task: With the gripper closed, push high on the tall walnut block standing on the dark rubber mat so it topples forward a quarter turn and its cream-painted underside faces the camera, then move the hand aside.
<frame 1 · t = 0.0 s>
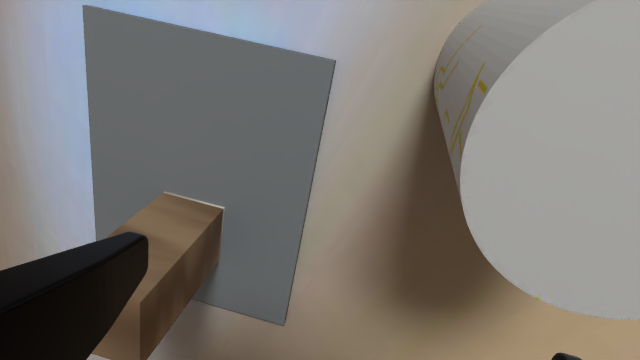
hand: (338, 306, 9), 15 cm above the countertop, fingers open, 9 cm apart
cup: (520, 78, 20), on the countertop
walnut block: (192, 226, 27), resting on mat
mat: (198, 182, 26), on the countertop
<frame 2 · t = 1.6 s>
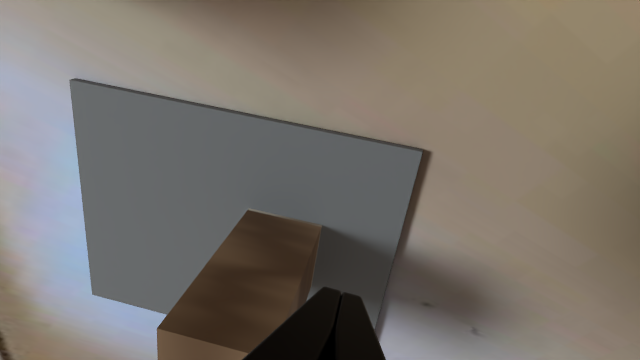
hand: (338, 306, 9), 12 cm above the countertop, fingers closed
walnut block: (281, 247, 23), resting on mat
mat: (231, 231, 23), on the countertop
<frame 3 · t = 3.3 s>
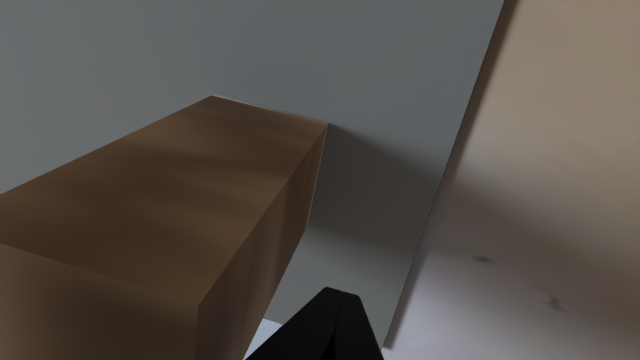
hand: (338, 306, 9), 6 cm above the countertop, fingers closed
walnut block: (262, 162, 15), resting on mat, touching gripper
mat: (188, 138, 15), on the countertop
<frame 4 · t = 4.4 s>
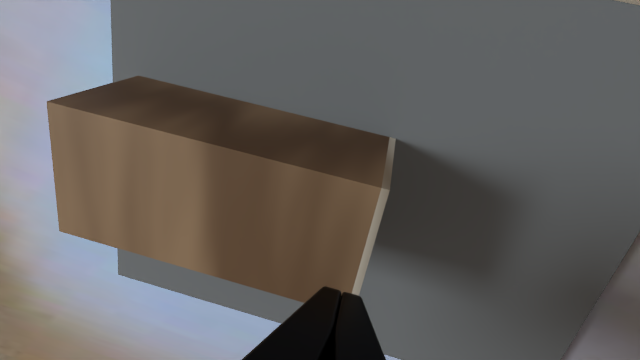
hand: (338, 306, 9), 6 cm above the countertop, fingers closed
walnut block: (375, 221, 12), point 2 cm above the countertop, tilted 90°, touching mat
mat: (354, 181, 15), on the countertop
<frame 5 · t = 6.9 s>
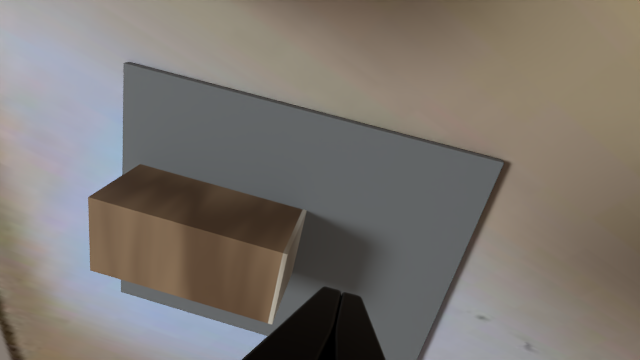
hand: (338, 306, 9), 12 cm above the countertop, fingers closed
walnut block: (290, 264, 20), point 2 cm above the countertop, tilted 90°, touching mat
mat: (283, 233, 22), on the countertop
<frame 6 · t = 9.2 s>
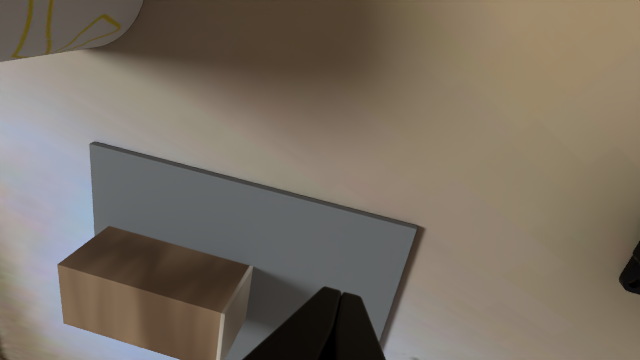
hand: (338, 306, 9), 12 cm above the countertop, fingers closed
walnut block: (236, 316, 23), point 2 cm above the countertop, tilted 90°, touching mat
mat: (236, 284, 25), on the countertop
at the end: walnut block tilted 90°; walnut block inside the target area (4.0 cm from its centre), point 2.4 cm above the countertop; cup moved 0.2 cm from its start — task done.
